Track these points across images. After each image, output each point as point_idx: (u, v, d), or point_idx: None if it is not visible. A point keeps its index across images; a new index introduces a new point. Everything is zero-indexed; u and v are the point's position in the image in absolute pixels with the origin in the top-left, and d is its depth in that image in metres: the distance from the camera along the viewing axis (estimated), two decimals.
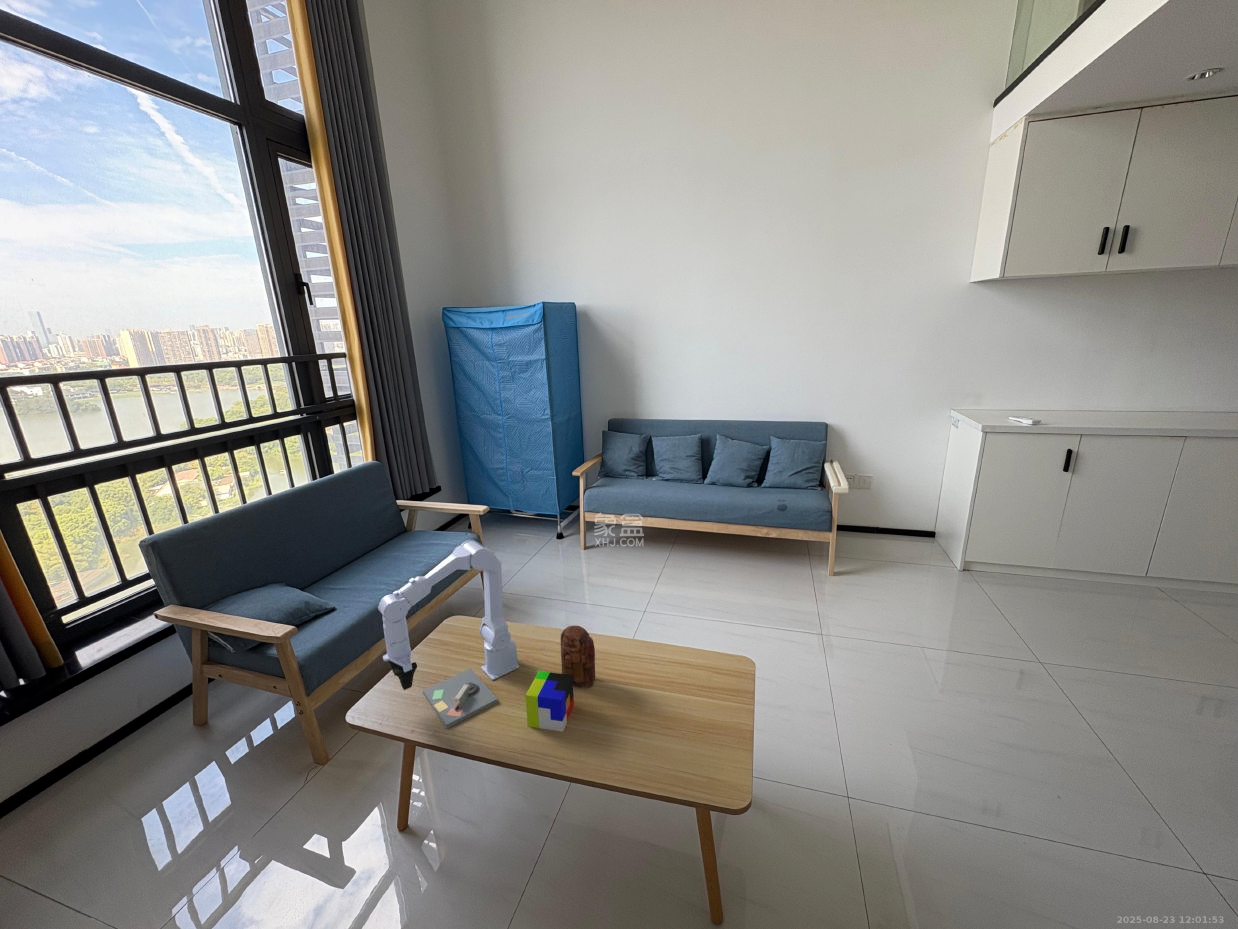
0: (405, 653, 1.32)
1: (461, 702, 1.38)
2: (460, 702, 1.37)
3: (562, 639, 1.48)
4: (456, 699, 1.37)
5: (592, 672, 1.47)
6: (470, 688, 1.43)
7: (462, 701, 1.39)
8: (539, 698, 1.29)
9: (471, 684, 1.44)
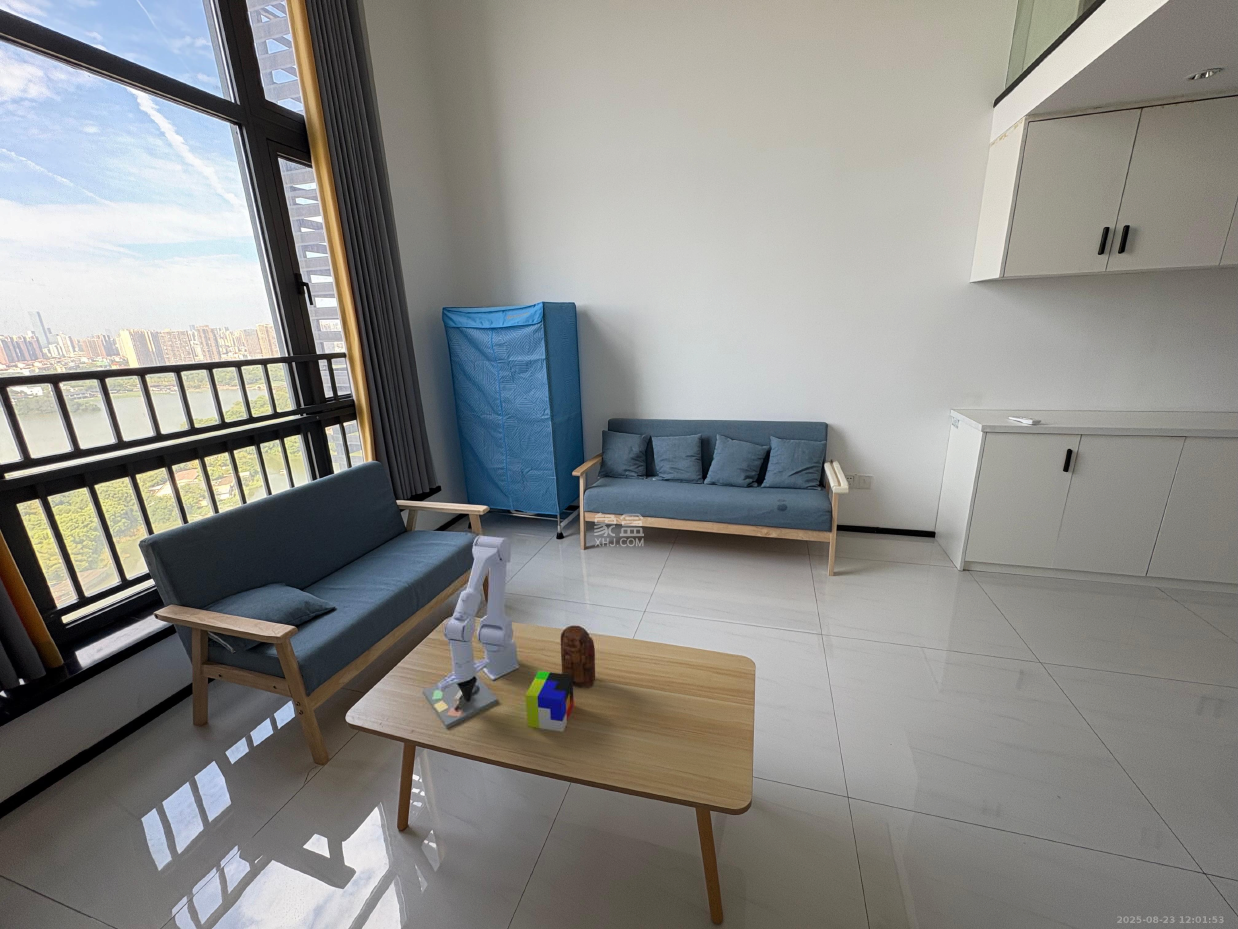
0: (456, 676, 1.34)
1: (461, 702, 1.38)
2: (460, 702, 1.37)
3: (562, 639, 1.48)
4: (456, 699, 1.37)
5: (592, 672, 1.47)
6: None
7: (462, 701, 1.39)
8: (539, 697, 1.29)
9: None
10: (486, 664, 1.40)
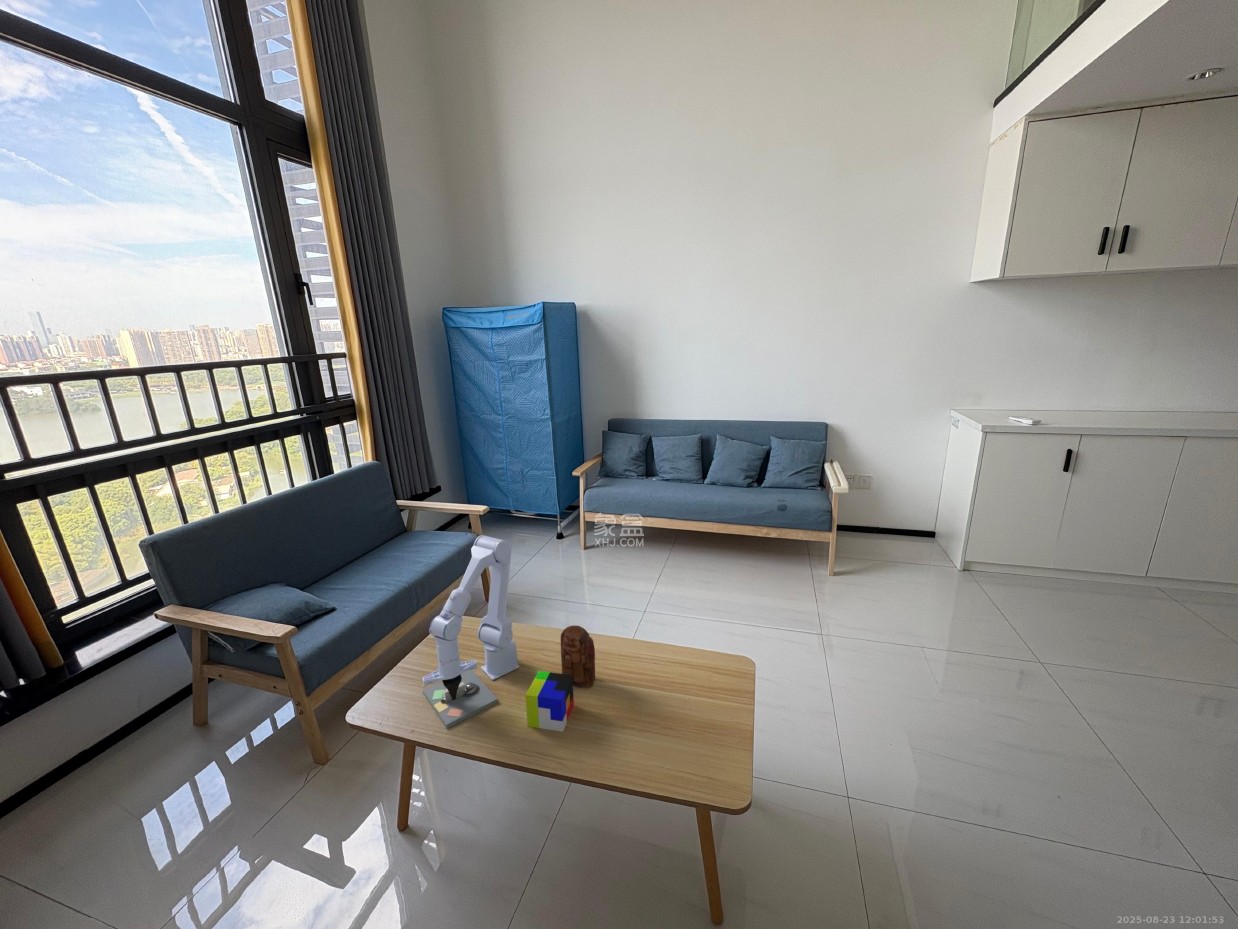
0: (440, 673, 1.35)
1: (449, 697, 1.40)
2: (446, 697, 1.40)
3: (562, 639, 1.49)
4: (443, 692, 1.40)
5: (592, 672, 1.47)
6: (467, 688, 1.43)
7: None
8: (539, 697, 1.29)
9: (471, 685, 1.44)
10: (473, 665, 1.40)
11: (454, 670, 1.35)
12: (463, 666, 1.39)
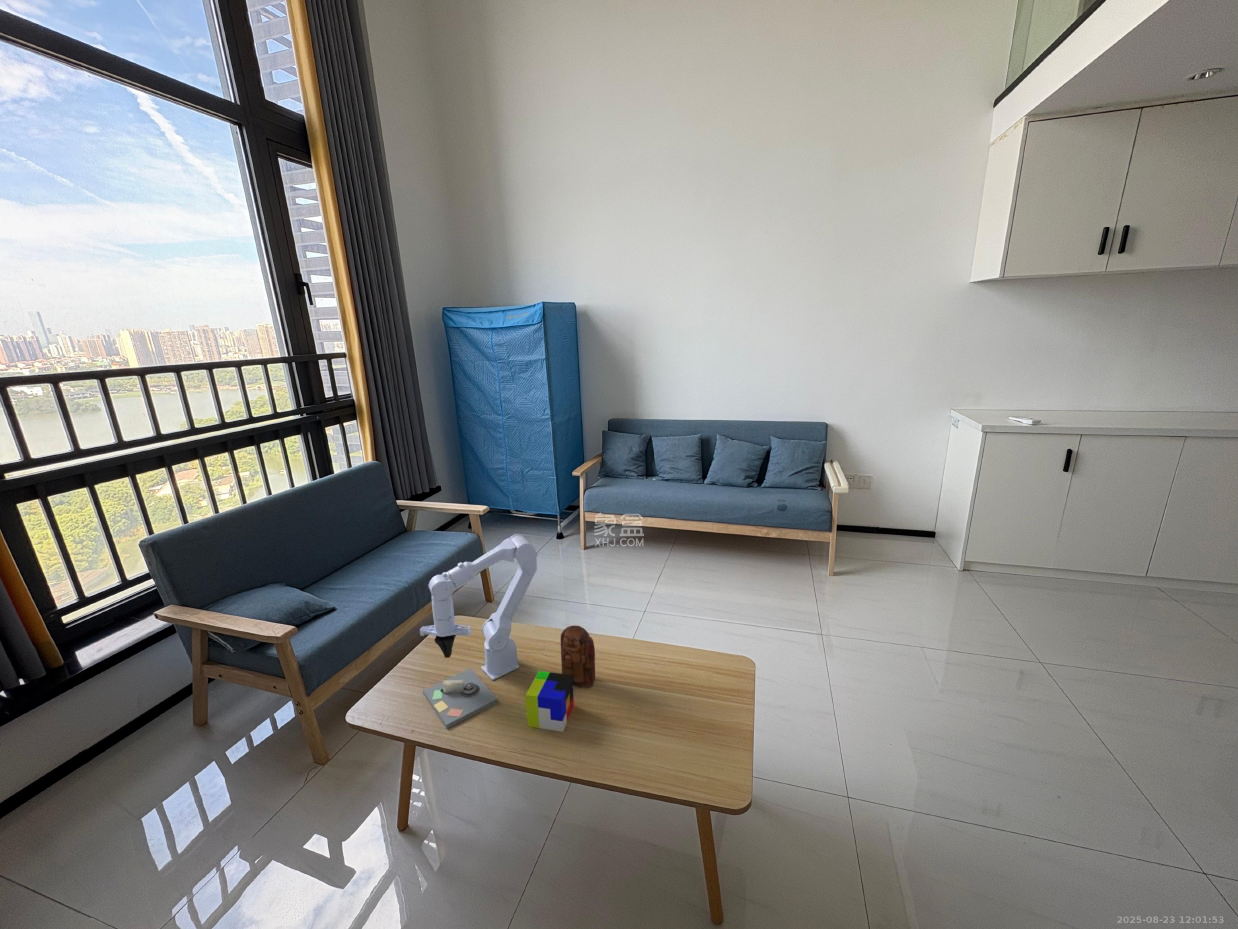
0: (434, 628, 1.44)
1: (447, 689, 1.43)
2: (445, 688, 1.43)
3: (562, 639, 1.48)
4: None
5: (592, 672, 1.47)
6: (466, 688, 1.43)
7: (449, 689, 1.43)
8: (539, 697, 1.29)
9: (470, 686, 1.44)
10: (465, 631, 1.43)
11: (443, 630, 1.42)
12: (457, 629, 1.44)
